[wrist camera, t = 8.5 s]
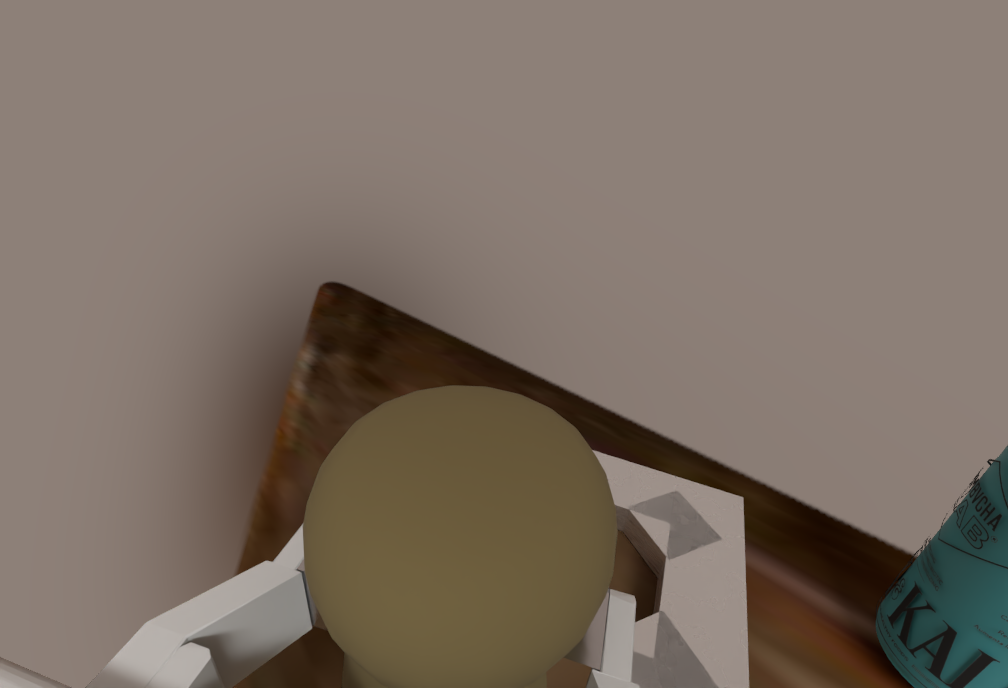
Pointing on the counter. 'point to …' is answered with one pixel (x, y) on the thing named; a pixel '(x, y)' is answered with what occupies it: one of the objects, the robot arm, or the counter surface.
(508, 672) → the olive peg doll
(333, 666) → the counter surface
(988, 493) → the beverage bottle
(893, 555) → the counter surface
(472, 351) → the counter surface
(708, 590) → the jig plate
